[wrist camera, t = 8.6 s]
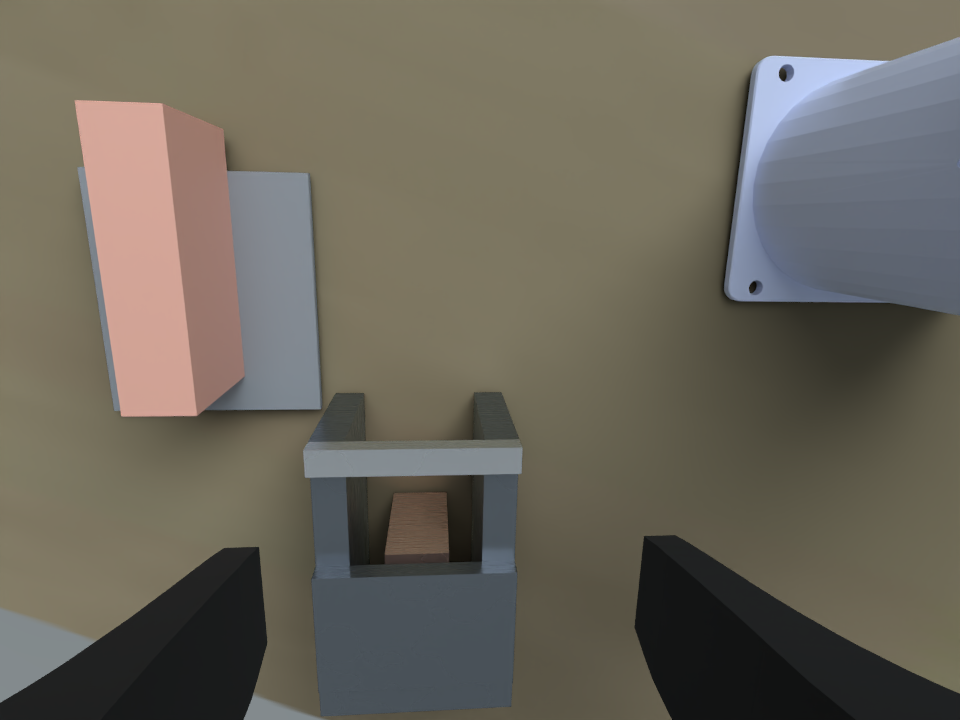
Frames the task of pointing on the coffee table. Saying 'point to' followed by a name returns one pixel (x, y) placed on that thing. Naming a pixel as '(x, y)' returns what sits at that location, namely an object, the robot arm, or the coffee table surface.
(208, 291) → the salmon pink brick
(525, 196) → the coffee table surface
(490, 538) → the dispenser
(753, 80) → the robot arm
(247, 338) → the pad
